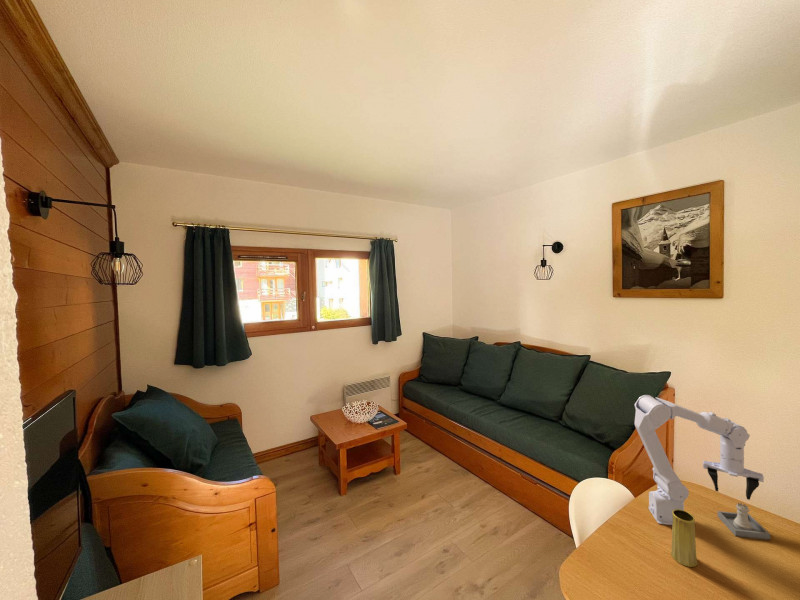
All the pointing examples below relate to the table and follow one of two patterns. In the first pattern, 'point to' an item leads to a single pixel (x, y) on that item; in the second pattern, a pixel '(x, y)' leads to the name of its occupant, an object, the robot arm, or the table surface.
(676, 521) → the vase
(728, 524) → the tray
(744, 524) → the rook chess piece
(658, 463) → the robot arm
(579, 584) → the table surface
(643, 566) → the table surface
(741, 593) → the table surface
